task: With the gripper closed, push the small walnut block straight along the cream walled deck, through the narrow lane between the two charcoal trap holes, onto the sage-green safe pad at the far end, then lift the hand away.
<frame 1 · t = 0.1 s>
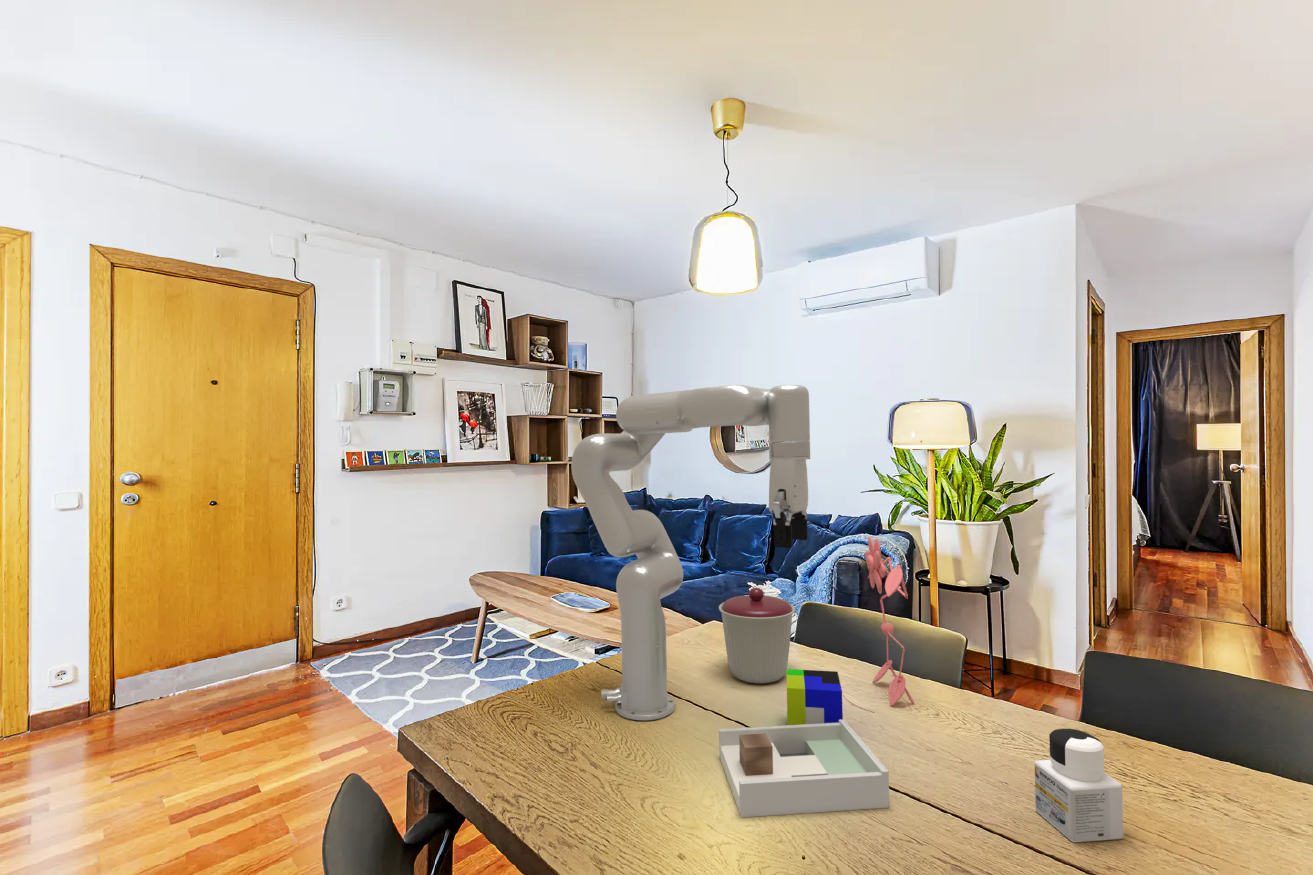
hand: (791, 543, 116), 37 cm above the table, tool pointing down, fingers open, 9 cm apart
canister: (757, 676, 150), on the table
puzzle toy: (814, 732, 121), on the table
walnut block: (756, 767, 103), point 2 cm above the table, touching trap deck
figurine: (875, 695, 138), on the table
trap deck: (797, 780, 104), on the table
container: (1077, 826, 90), on the table
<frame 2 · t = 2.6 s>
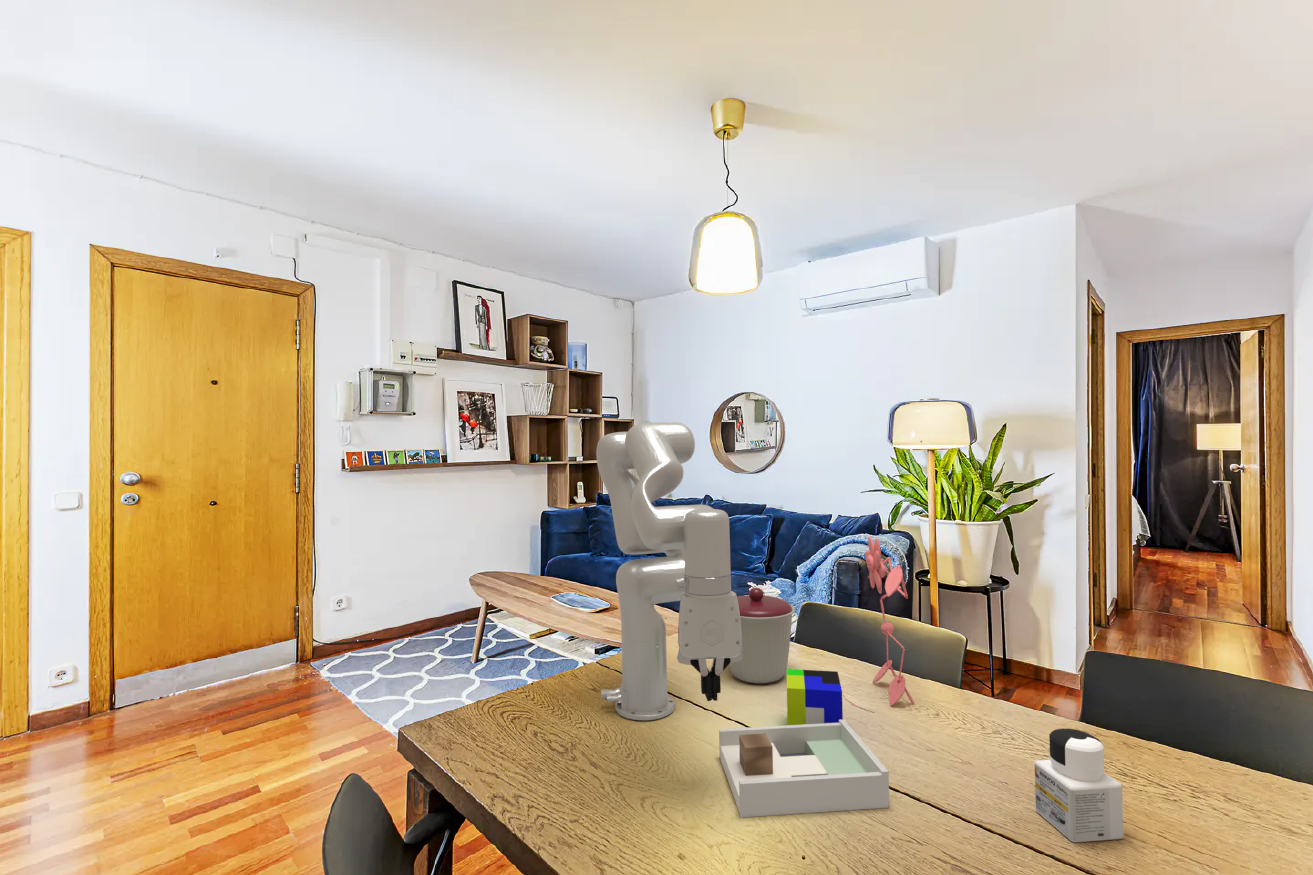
hand: (711, 697, 102), 15 cm above the table, tool pointing down, fingers closed
nothing on the table moved.
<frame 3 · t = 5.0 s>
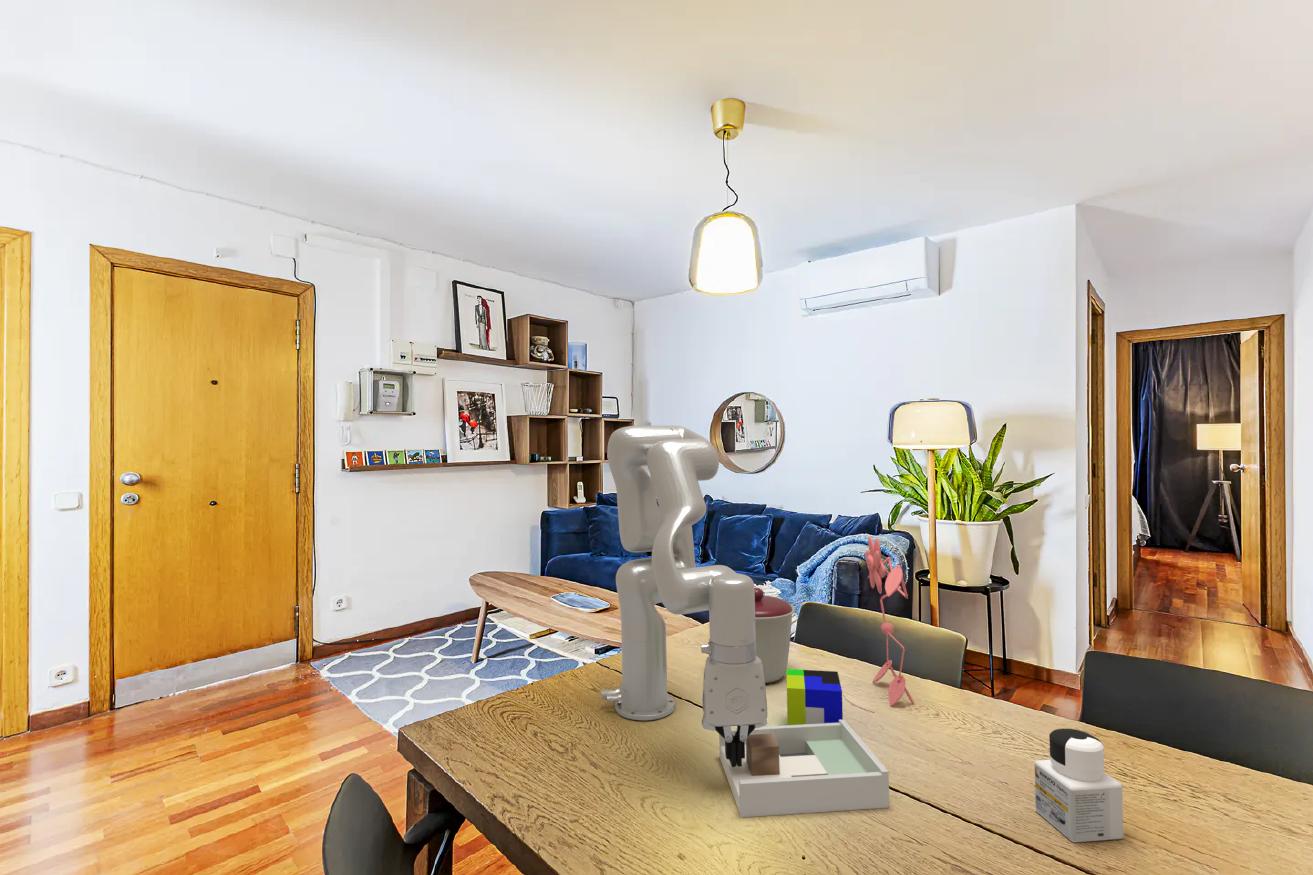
hand: (735, 762, 103), 4 cm above the table, tool pointing down, fingers closed
walnut block: (762, 767, 103), point 3 cm above the table, touching gripper
everything else where it was.
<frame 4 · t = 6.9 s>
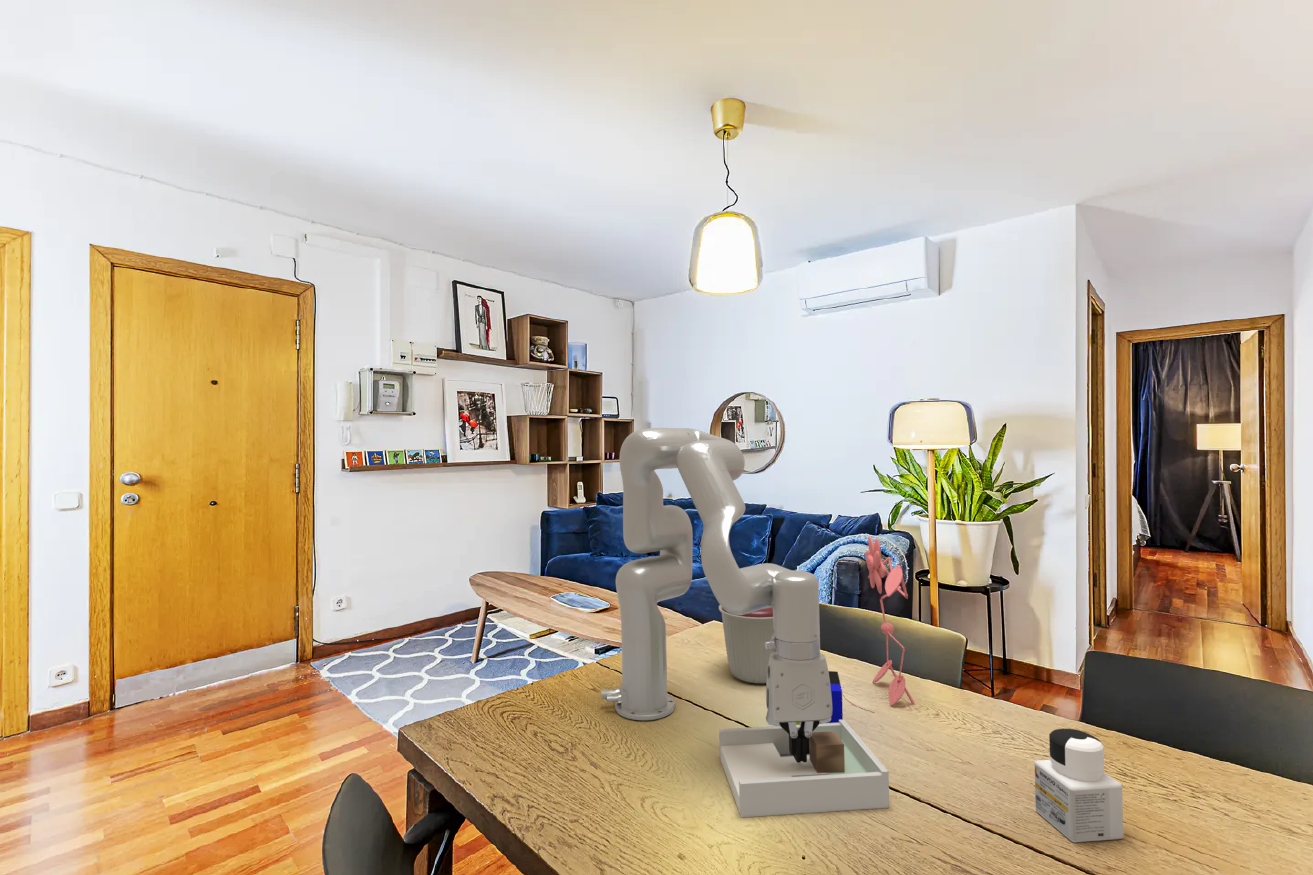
hand: (799, 758, 103), 4 cm above the table, tool pointing down, fingers closed
walnut block: (826, 765, 103), point 3 cm above the table, touching gripper, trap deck
everything else where it was.
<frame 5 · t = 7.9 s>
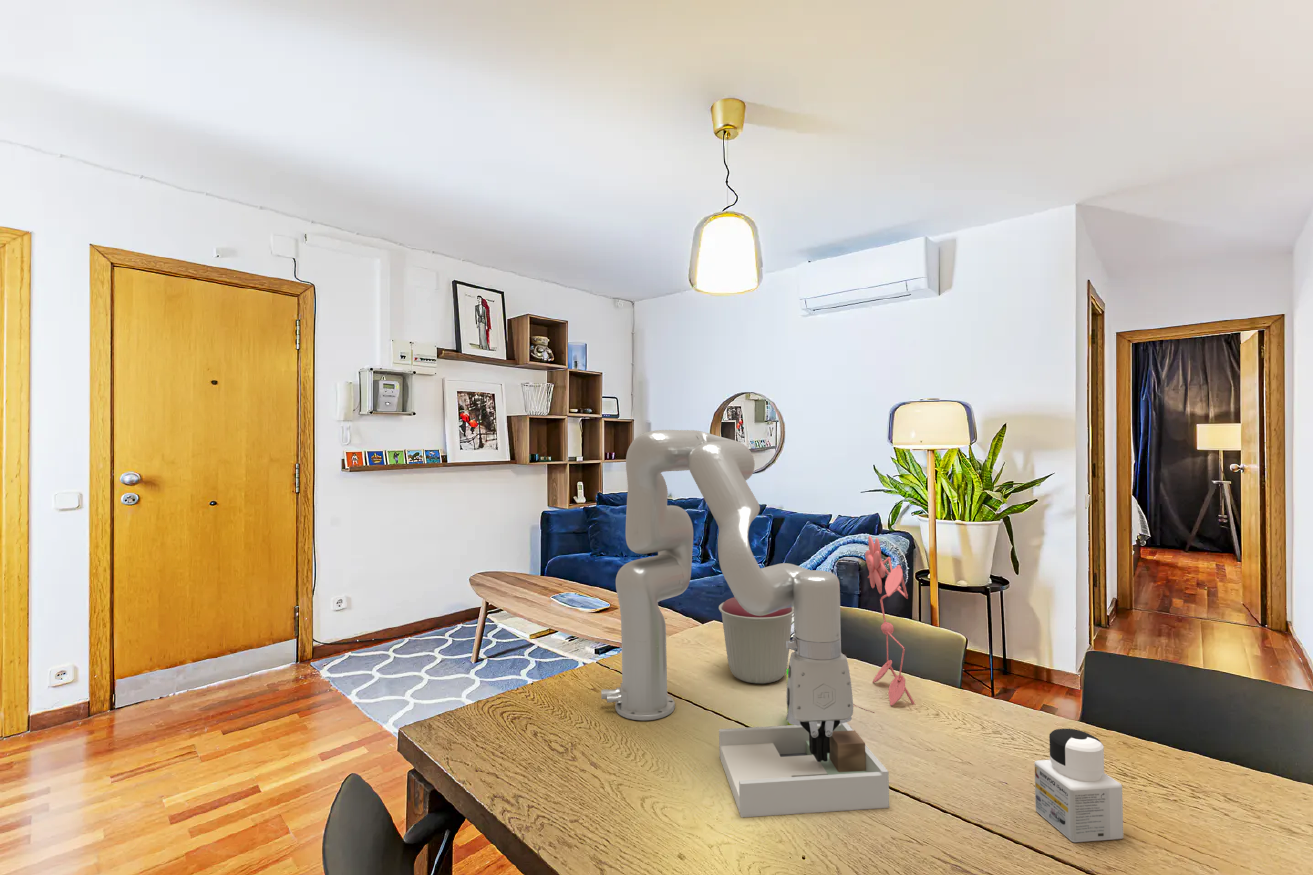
hand: (819, 757, 104), 4 cm above the table, tool pointing down, fingers closed
walnut block: (847, 764, 104), point 3 cm above the table, touching gripper, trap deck
everything else where it was.
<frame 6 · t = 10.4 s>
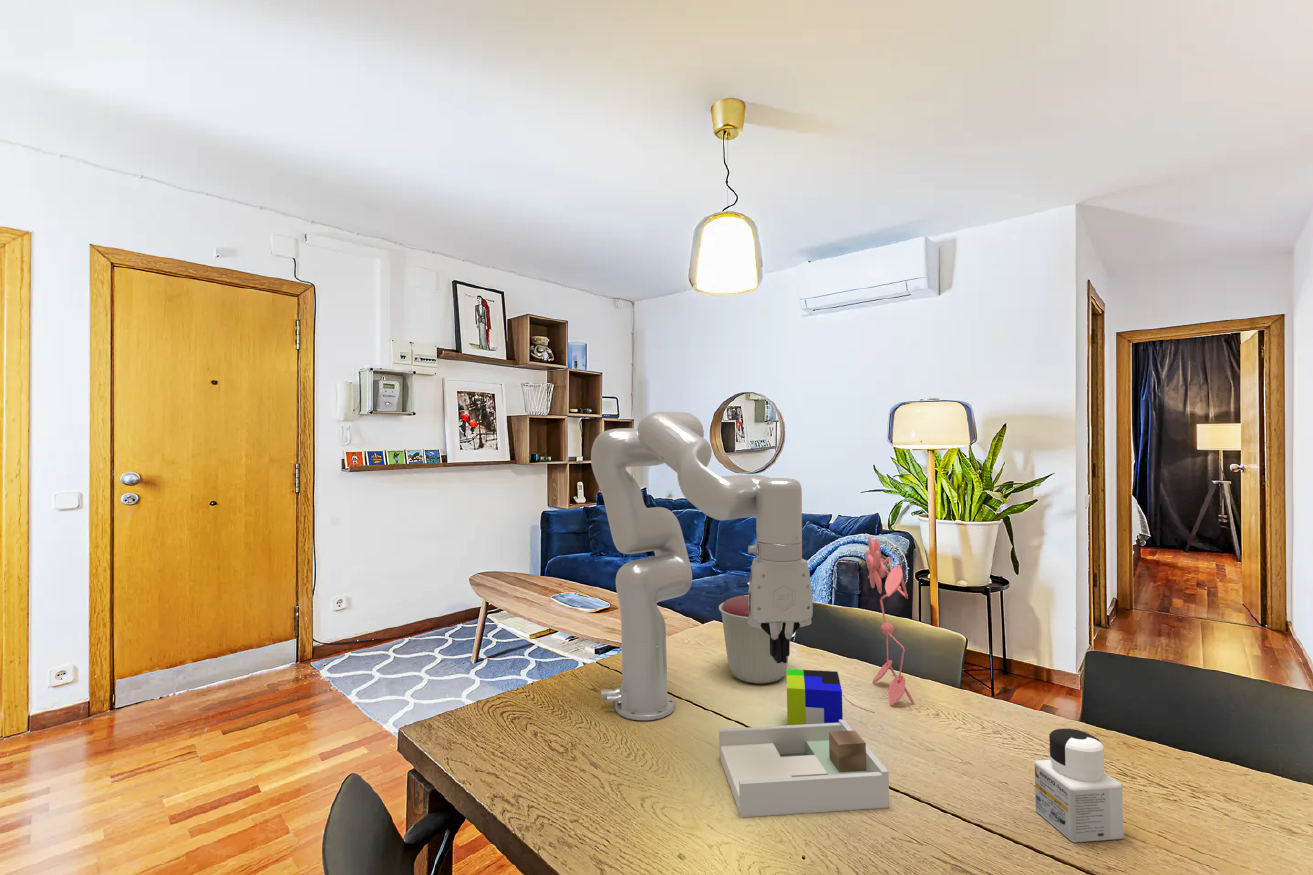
hand: (779, 660, 105), 19 cm above the table, tool pointing down, fingers closed
walnut block: (847, 764, 103), point 2 cm above the table, touching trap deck
everything else where it was.
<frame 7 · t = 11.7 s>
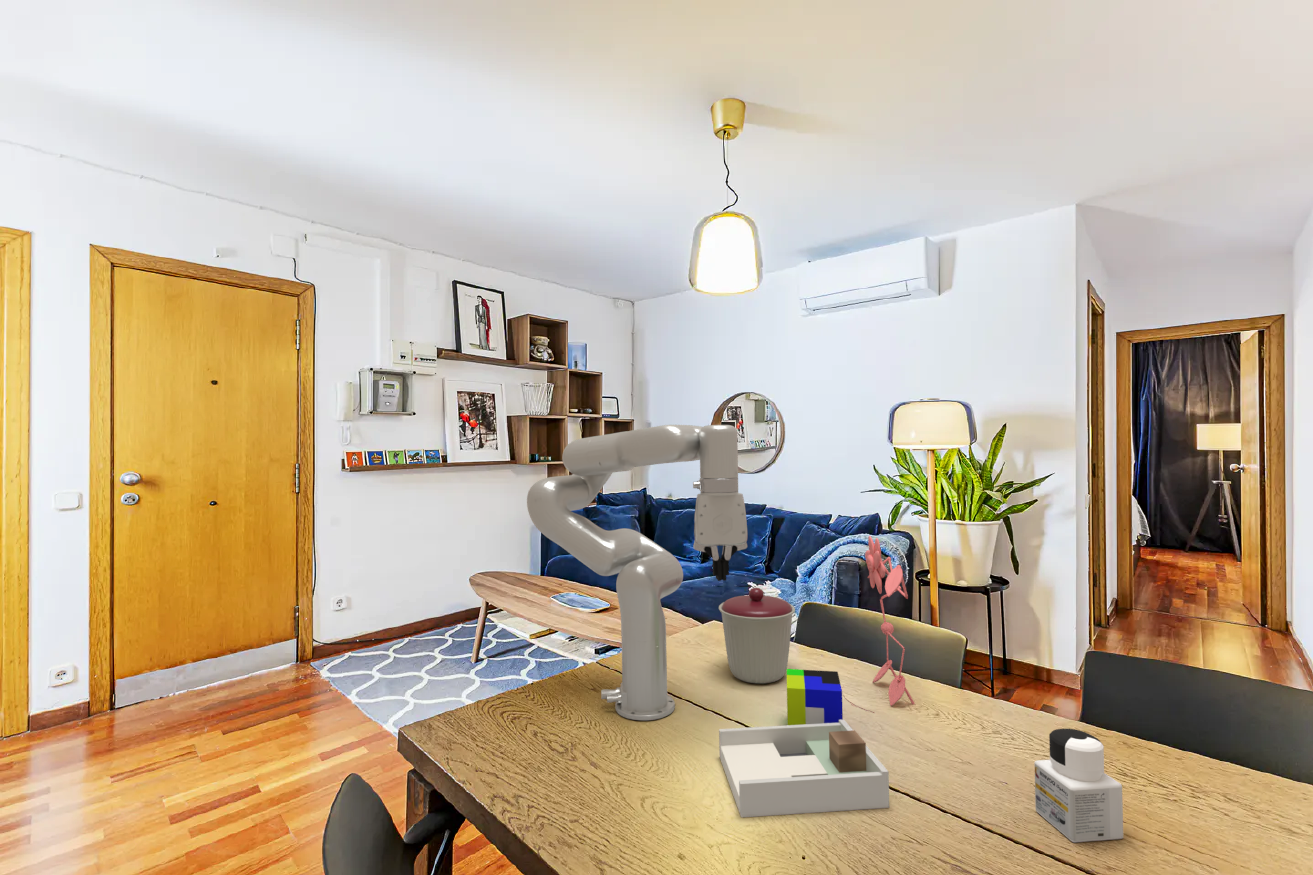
hand: (720, 579, 124), 29 cm above the table, tool pointing down, fingers closed
nothing on the table moved.
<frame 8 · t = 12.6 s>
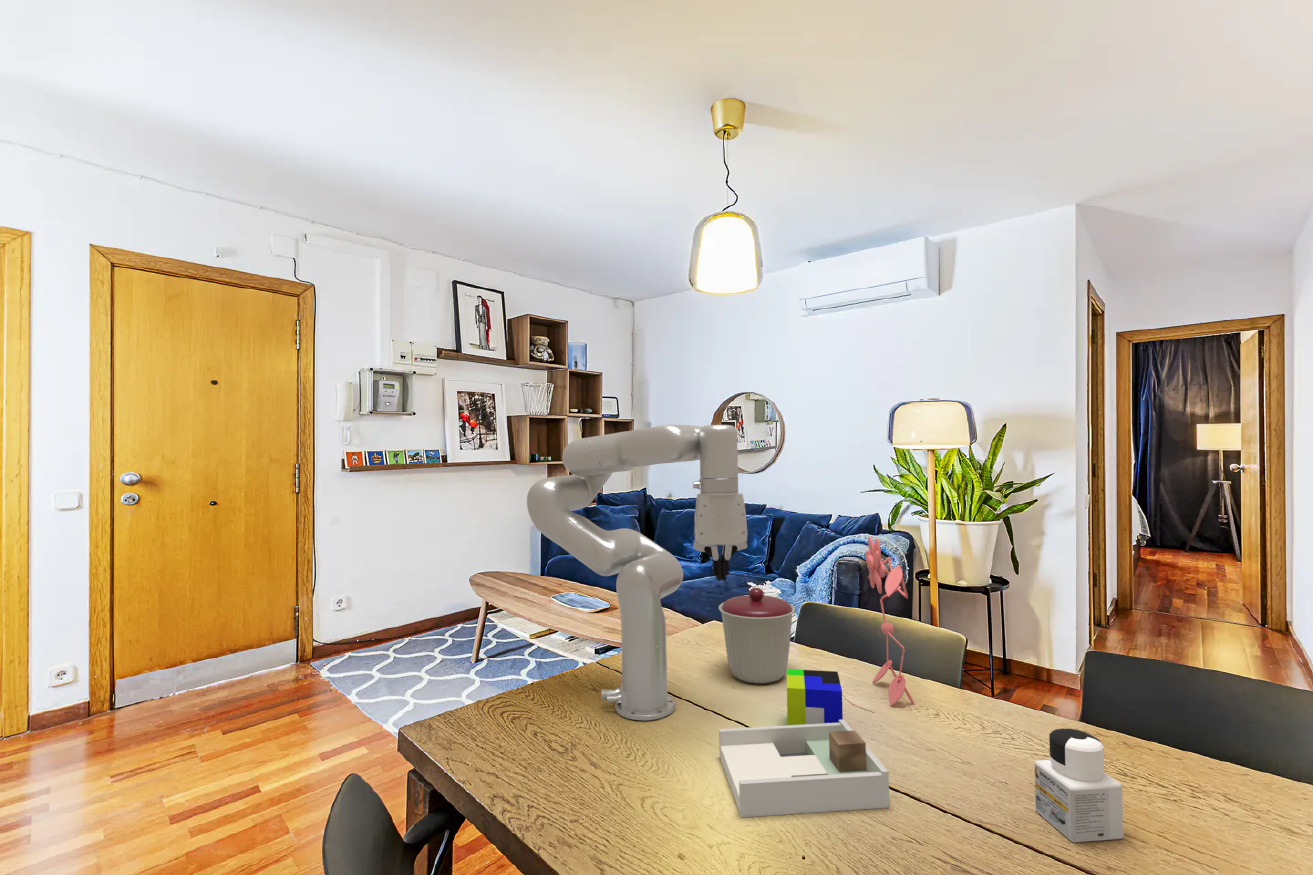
hand: (720, 579, 124), 29 cm above the table, tool pointing down, fingers closed
nothing on the table moved.
at the end: walnut block 0.8 cm from the target spot on the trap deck, point 2.5 cm above the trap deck's base; walnut block tilted 0° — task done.
